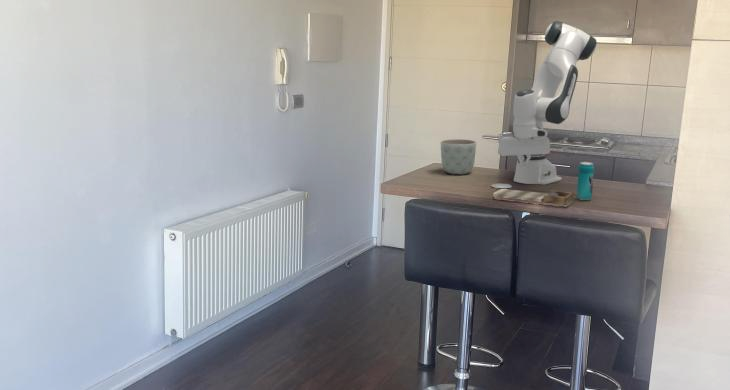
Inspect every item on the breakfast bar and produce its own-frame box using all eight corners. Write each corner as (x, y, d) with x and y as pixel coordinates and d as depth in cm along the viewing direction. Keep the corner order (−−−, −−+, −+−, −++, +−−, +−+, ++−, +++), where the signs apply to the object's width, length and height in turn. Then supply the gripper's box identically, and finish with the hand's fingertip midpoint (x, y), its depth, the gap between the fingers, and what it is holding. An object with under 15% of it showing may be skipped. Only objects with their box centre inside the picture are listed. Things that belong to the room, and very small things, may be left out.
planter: (466, 177, 334) (466, 145, 331) (433, 174, 343) (434, 142, 340) (481, 171, 348) (482, 140, 345) (449, 168, 357) (450, 138, 354)
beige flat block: (492, 199, 292) (493, 193, 292) (501, 194, 301) (501, 188, 300) (541, 204, 283) (541, 198, 282) (548, 199, 291) (548, 193, 290)
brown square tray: (541, 204, 283) (541, 195, 282) (548, 199, 291) (548, 190, 290) (566, 207, 278) (567, 197, 277) (573, 202, 286) (573, 192, 285)
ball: (552, 199, 289) (555, 190, 288) (559, 204, 286) (561, 194, 285) (545, 199, 288) (547, 190, 286) (551, 204, 284) (553, 195, 283)
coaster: (499, 183, 321) (499, 182, 321) (515, 187, 314) (515, 185, 314) (486, 186, 315) (486, 185, 315) (503, 190, 308) (503, 188, 308)
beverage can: (589, 201, 287) (591, 164, 284) (575, 200, 290) (577, 163, 287) (593, 198, 292) (595, 162, 288) (579, 197, 295) (581, 161, 291)
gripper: (499, 133, 282) (499, 168, 285) (551, 131, 282) (550, 166, 285) (496, 131, 288) (496, 165, 291) (547, 129, 288) (546, 163, 291)
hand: (523, 165), depth 288 cm, fingers closed
